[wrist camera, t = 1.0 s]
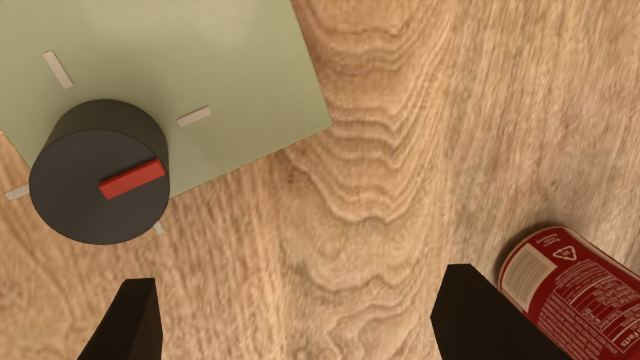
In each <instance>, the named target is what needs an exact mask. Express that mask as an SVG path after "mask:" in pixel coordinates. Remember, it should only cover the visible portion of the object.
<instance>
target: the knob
mask: <svg viewBox="0 0 640 360" xmlns="http://www.w3.org/2000/svg"><path fill="white" fill-rule="evenodd" d="M29 192H30V197H31V200H32V203H33V205H34V207H35V209H36V211H37V212H38V214H39V215H40V217H41V218H42V219H43V220H44V221H45V222H46V224H48V225H49V226H50V227H51V228H52V229H54V230H55V231H57V232H58V233H60V234H61V235H63V236H65V237H67V238H70V239H72V240H75V241H78V242H82V243H87V244H94V245H110V244H117V243H122V242H125V241H129V240H131V239H134V238H136V237H138V236H140V235H142V234H143V233H145V232H146V231H148V230H149V229H150V228H151V227H152V226H154V225H155V224H156V222H157V221H158V220H159V219H160V218H161V216H162V215H163V213H164V211H165V209H166V207H167V204H168V201H169V196H170V175H169V154H168V145H167V141H166V138H165V135H164V133H163V131H162V129H161V128H160V126H159V125H158V123H157V122H156V121H155V120H154V119H153V118H152V117H151V116H150V115H149V114H147V113H146V112H145V111H143V110H142V109H140V108H138V107H136V106H134V105H132V104H129V103H126V102H122V101H118V100H109V99H101V100H93V101H88V102H85V103H82V104H80V105H78V106H75V107H73V108H72V109H70V110H69V111H68V112H66V113H65V114H64V115H63V116H62V117H61V118H60V119H59V121H58V122H57V123H56V125H55V127H54V128H53V130H52V132H51V134H50V135H49V137H48V139H47V141H46V142H45V144H44V146H43V148H42V150H41V151H40V153H39V155H38V157H37V158H36V160H35V162H34V164H33V166H32V169H31V172H30V177H29Z"/></svg>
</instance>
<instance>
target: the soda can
mask: <svg viewBox="0 0 640 360" xmlns="http://www.w3.org/2000/svg"><path fill="white" fill-rule="evenodd" d="M498 289H499V292H500V293H501V294H502V295H503V296H504V297H505V298H506V299H508V300H509V301H510V302H511V303H512V304H513V305H514V306H515V307H516V308H517V309H518V310H519V311H520V312H521V313H522V314H523V315H524V316H525V317H526V318H528V319H529V320H530V321H531V322H532V323H533V324H534V325H535V326H536V327H537V328H538V329H539V330H541V331H542V332H543V333H544V334H545V335H546V336H547V337H548V338H550V339H551V340H552V341H553V342H554V343H555V344H556V345H558V346H559V347H560V348H561V349H562V350H563V351H565V352H566V353H567V354H568V355H569V356H571V357H572V358H573V359H574V360H640V277H639V276H638V275H636V274H635V273H633V272H632V271H630V270H629V269H628V268H626V267H625V266H623V265H622V264H620V263H619V262H617V261H616V260H615V259H613V258H612V257H610V256H609V255H607V254H606V253H605V252H603V251H602V250H600V249H599V248H597V247H596V246H594V245H593V244H592V243H590V242H589V241H587V240H586V239H584V238H583V237H582V236H580V235H579V234H577V233H576V232H574V231H573V230H571V229H569V228H566V227H562V226H553V227H547V228H544V229H541V230H538V231H536V232H534V233H532V234H530V235H529V236H527V237H526V238H525V239H523V240H522V241H521V242H520V243H518V244H517V245H516V246H515V247H514V249H513V250H512V251H511V252H510V253H509V255H508V256H507V258H506V259H505V261H504V263H503V265H502V267H501V270H500V273H499V278H498Z"/></svg>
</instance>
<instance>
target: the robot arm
mask: <svg viewBox="0 0 640 360" xmlns="http://www.w3.org/2000/svg"><path fill="white" fill-rule="evenodd" d="M430 318H431V322H432V326H433V330H434V334H435V337H436V341H437V344H438V348H439V351H440V354H441V357H442V360H574V359H573V358H572V357H571V356H569V355H568V354H567V353H566V352H565V351H563V350H562V349H561V348H560V347H559V346H558V345H556V344H555V343H554V342H553V341H552V340H551V339H550V338H548V337H547V336H546V335H545V334H544V333H543V332H542V331H541V330H539V329H538V328H537V327H536V326H535V325H534V324H533V323H532V322H531V321H530V320H529V319H528V318H526V317H525V316H524V315H523V314H522V313H521V312H520V311H519V310H518V309H517V308H516V307H515V306H514V305H513V304H512V303H511V302H510V301H509V300H508V299H506V298H505V297H504V296H503V295H502V294H501V293H500V292H499V291H498V290H497V289H496V288H495V287H494V286H493V285H492V284H491V283H490V282H489V281H488V280H487V279H486V278H485V277H484V276H483V275H482V274H481V273H480V272H479V271H478V270H477V269H475V268H474V267H473V266H472V265H471V264H449V265H448V266H447V269H446V272H445V275H444V278H443V281H442V284H441V286H440V289H439V292H438V295H437V298H436V301H435V304H434V307H433V310H432V313H431V316H430ZM162 341H163V331H162V324H161V318H160V311H159V304H158V297H157V291H156V284H155V278H139V279H126V280H125V281H124V282H123V283H122V284H121V286H120V288H119V290H118V292H117V294H116V296H115V298H114V300H113V302H112V303H111V305H110V307H109V309H108V310H107V312H106V314H105V316H104V317H103V319H102V321H101V322H100V324H99V326H98V327H97V329H96V331H95V332H94V334H93V335H92V337H91V338H90V340H89V342H88V343H87V345H86V346H85V348H84V349H83V351H82V352H81V354H80V355H79V357H78V358H77V360H161V353H162Z"/></svg>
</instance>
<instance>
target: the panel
mask: <svg viewBox="0 0 640 360" xmlns="http://www.w3.org/2000/svg"><path fill="white" fill-rule="evenodd" d="M101 99H109V100H118V101H122V102H126V103H129V104H132V105H134V106H136V107H138V108H140V109H142V110H143V111H145V112H146V113H147V114H149V115H150V116H151V117H152V118H153V119H154V120H155V121H156V122H157V123H158V125H159V126H160V128H161V129H162V131H163V133H164V135H165V138H166V141H167V145H168V154H169V175H170V196H169V199H170V198H173V197H175V196H177V195H179V194H182V193H184V192H186V191H188V190H191V189H193V188H195V187H197V186H200V185H202V184H204V183H206V182H209V181H211V180H213V179H215V178H218V177H220V176H222V175H224V174H227V173H229V172H231V171H233V170H236V169H238V168H240V167H242V166H244V165H247V164H249V163H251V162H253V161H256V160H258V159H260V158H262V157H265V156H267V155H269V154H271V153H274V152H276V151H278V150H280V149H283V148H285V147H287V146H289V145H292V144H294V143H296V142H298V141H301V140H303V139H305V138H307V137H310V136H312V135H314V134H316V133H319V132H321V131H323V130H325V129H328V128H330V127H332V126H333V121H332V118H331V116H330V113H329V110H328V107H327V104H326V101H325V98H324V95H323V92H322V89H321V87H320V84H319V81H318V78H317V75H316V72H315V69H314V66H313V63H312V60H311V58H310V55H309V52H308V49H307V46H306V43H305V40H304V37H303V34H302V31H301V29H300V26H299V23H298V20H297V17H296V14H295V11H294V8H293V5H292V2H291V0H0V129H1V130H2V132H3V133H4V134H5V136H6V137H7V138H8V140H9V141H10V142H11V144H12V145H13V146H14V148H15V149H16V150H17V152H18V153H19V154H20V156H21V157H22V158H23V160H24V161H25V162H26V164H27V165H28V166H29V168H30V169H32V166H33V164H34V162H35V160H36V158H37V157H38V155H39V153H40V151H41V150H42V148H43V146H44V144H45V142H46V141H47V139H48V137H49V135H50V134H51V132H52V130H53V128H54V127H55V125H56V123H57V122H58V121H59V119H60V118H61V117H62V116H63V115H64V114H65V113H66V112H68V111H69V110H70V109H72V108H73V107H75V106H78V105H80V104H82V103H85V102H88V101H93V100H101ZM28 193H30V192H29V182H28V183H26V184H24V185H21V186H19V187H17V188H14V189H12V190H10V191H7V192H5V194H4V195H5V196H6V197H7V198H8V200H9V201H12V200H14V199H16V198H18V197H21V196H23V195H25V194H28ZM153 228H154V229H155V231H156V232H157V234H158V235H160V234H162V233H164V232H166V230H165V228H164V227H163V225H162V223H161V222H160V220H158V221H157V222H156V224H155V225H154V226H153Z"/></svg>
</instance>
